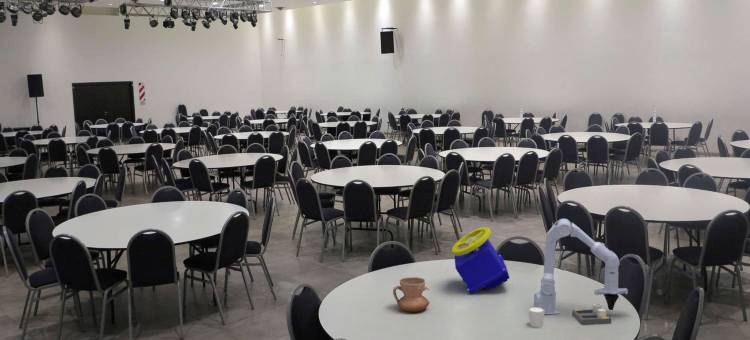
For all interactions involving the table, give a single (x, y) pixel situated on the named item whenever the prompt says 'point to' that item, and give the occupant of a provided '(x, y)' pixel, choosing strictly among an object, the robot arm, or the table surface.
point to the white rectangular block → (601, 313)
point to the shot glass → (536, 316)
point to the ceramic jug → (412, 294)
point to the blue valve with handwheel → (479, 261)
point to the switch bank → (590, 317)
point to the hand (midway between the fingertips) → (610, 309)
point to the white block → (595, 307)
